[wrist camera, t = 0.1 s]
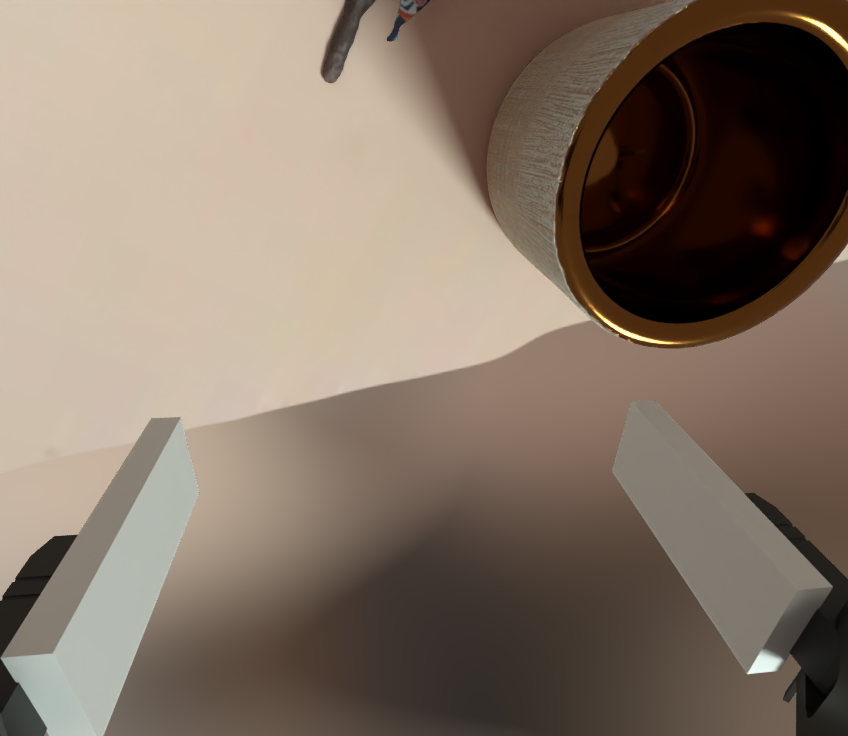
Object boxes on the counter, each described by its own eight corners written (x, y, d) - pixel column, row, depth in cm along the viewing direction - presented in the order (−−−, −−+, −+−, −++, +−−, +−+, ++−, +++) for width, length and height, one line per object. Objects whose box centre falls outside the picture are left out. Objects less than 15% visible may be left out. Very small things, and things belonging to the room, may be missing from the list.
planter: (543, -28, 33) (675, -112, 19) (753, 76, 37) (982, 68, 23) (449, 233, 40) (495, 307, 27) (632, 293, 45) (753, 382, 31)
